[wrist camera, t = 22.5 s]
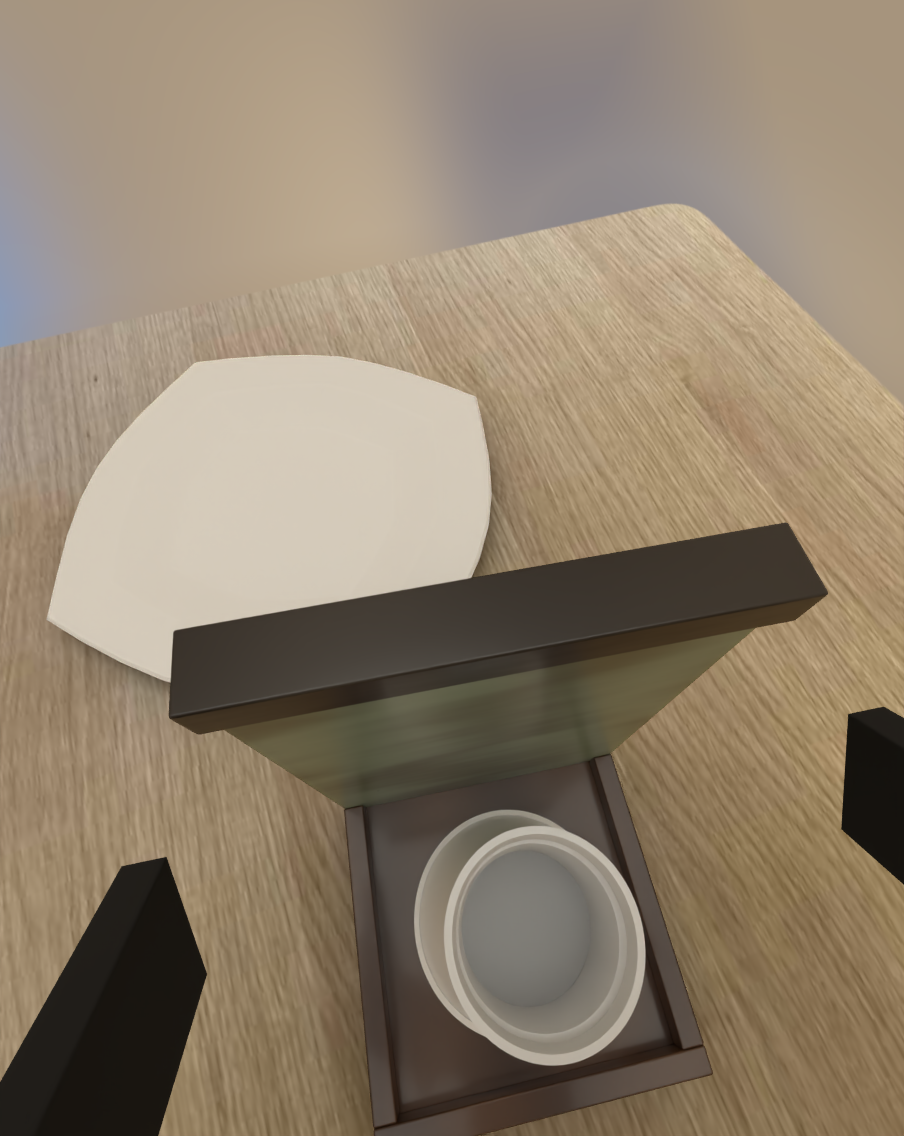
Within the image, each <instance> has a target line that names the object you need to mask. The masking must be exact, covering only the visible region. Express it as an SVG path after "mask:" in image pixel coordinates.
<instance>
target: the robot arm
mask: <svg viewBox="0 0 904 1136" xmlns="http://www.w3.org/2000/svg"><path fill="white" fill-rule="evenodd" d="M841 829H842V830H843V831H844V832H845V833H846V834H847V835H849V836H850V837H851V838H852V839H853V840H854V841H855V842H856V843H858V844H859V845H860V846H861V847H862V848H863V849H864V850H865V851H867V852H868V853H869V854H870V855H871V856H872V857H873V858H874V859H876V860H877V861H878V862H879V863H880V864H881V865H882V866H883V867H885V868H886V869H887V870H888V871H889V872H890V873H891V874H892V875H894V876H895V877H896V878H897V879H898V880H899V881H900V882H901V883H903V884H904V718H903V717H901V716H899V715H897V714H896V713H894V712H892V711H890V710H889V709H887V708H885V707H880V708H875V709H871V710H866V711H861V712H856V713H852V714H848V728H847V744H846V761H845V778H844V794H843V811H842V827H841ZM206 976H207V973H206V970H205V967H204V964H203V961H202V958H201V955H200V953H199V950H198V947H197V944H196V941H195V938H194V935H193V932H192V929H191V927H190V924H189V921H188V918H187V915H186V912H185V909H184V906H183V903H182V901H181V898H180V895H179V892H178V889H177V886H176V883H175V880H174V877H173V875H172V872H171V869H170V866H169V863H168V860H167V857H164V858H159V859H155V860H150V861H145V862H140V863H135V864H131V865H126V866H122V867H121V869H120V870H119V872H118V874H117V876H116V878H115V879H114V881H113V883H112V885H111V886H110V888H109V890H108V892H107V894H106V895H105V897H104V899H103V901H102V902H101V904H100V906H99V908H98V910H97V911H96V913H95V915H94V917H93V918H92V920H91V922H90V924H89V926H88V927H87V929H86V931H85V933H84V934H83V936H82V938H81V940H80V941H79V943H78V945H77V947H76V949H75V950H74V952H73V954H72V956H71V957H70V959H69V961H68V963H67V965H66V966H65V968H64V970H63V972H62V973H61V975H60V977H59V979H58V981H57V982H56V984H55V986H54V988H53V989H52V991H51V993H50V995H49V997H48V998H47V1000H46V1002H45V1004H44V1005H43V1007H42V1009H41V1011H40V1013H39V1014H38V1016H37V1018H36V1020H35V1021H34V1023H33V1025H32V1027H31V1028H30V1030H29V1032H28V1034H27V1036H26V1037H25V1039H24V1041H23V1043H22V1044H21V1046H20V1048H19V1050H18V1052H17V1053H16V1055H15V1057H14V1059H13V1060H12V1062H11V1064H10V1066H9V1068H8V1069H7V1071H6V1073H5V1075H4V1076H3V1078H2V1080H1V1082H0V1136H158V1134H159V1131H160V1128H161V1125H162V1121H163V1118H164V1115H165V1111H166V1108H167V1105H168V1101H169V1098H170V1095H171V1091H172V1088H173V1085H174V1082H175V1078H176V1075H177V1072H178V1068H179V1065H180V1062H181V1058H182V1055H183V1052H184V1048H185V1045H186V1042H187V1039H188V1035H189V1032H190V1029H191V1025H192V1022H193V1019H194V1015H195V1012H196V1009H197V1005H198V1002H199V999H200V995H201V992H202V989H203V986H204V982H205V979H206Z"/></svg>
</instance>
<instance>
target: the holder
mask: <svg viewBox="0 0 904 1136" xmlns="http://www.w3.org/2000/svg"><path fill="white" fill-rule="evenodd" d="M827 594H828V591H827V589H826V588H825V586H824V584H823V583H822V581H821V579H820V577H819V576H818V574H817V572H816V571H815V569H814V567H813V565H812V564H811V562H810V560H809V559H808V557H807V555H806V553H805V552H804V550H803V548H802V547H801V545H800V543H799V541H798V540H797V538H796V536H795V534H794V533H793V531H792V529H791V528H790V526H789V524H788V523H781V524H775V525H769V526H764V527H758V528H752V529H746V530H741V531H735V532H729V533H724V534H718V535H712V536H707V537H701V538H695V539H690V540H684V541H678V542H673V543H667V544H661V545H656V546H650V547H644V548H639V549H633V550H627V551H622V552H616V553H610V554H605V555H599V556H593V557H588V558H582V559H576V560H570V561H565V562H559V563H553V564H548V565H542V566H536V567H531V568H525V569H519V570H514V571H508V572H502V573H497V574H491V575H485V576H480V577H474V578H468V579H463V580H457V581H451V582H446V583H440V584H434V585H429V586H423V587H417V588H412V589H406V590H400V591H394V592H389V593H383V594H377V595H372V596H366V597H360V598H355V599H349V600H343V601H338V602H332V603H326V604H321V605H315V606H309V607H304V608H298V609H292V610H287V611H281V612H275V613H270V614H264V615H258V616H253V617H247V618H241V619H236V620H230V621H224V622H218V623H213V624H207V625H201V626H196V627H190V628H184V629H179V630H175V631H174V632H173V644H172V663H171V682H170V701H169V718H170V719H171V720H173V721H175V722H177V723H178V724H180V725H182V726H184V727H185V728H187V729H189V730H191V731H192V732H194V733H196V734H204V733H209V732H215V731H220V730H225V731H227V732H228V733H230V734H231V735H233V736H234V737H236V738H237V739H239V740H240V741H242V742H244V743H245V744H247V745H248V746H250V747H251V748H253V749H254V750H256V751H257V752H259V753H260V754H262V755H263V756H265V757H267V758H268V759H270V760H271V761H273V762H274V763H276V764H277V765H279V766H280V767H282V768H283V769H285V770H286V771H288V772H289V773H291V774H293V775H294V776H296V777H297V778H299V779H300V780H302V781H303V782H305V783H306V784H308V785H309V786H311V787H312V788H314V789H316V790H317V791H319V792H320V793H322V794H323V795H325V796H326V797H328V798H329V799H331V800H332V801H334V802H335V803H337V804H339V805H340V806H342V807H343V808H345V810H344V813H345V824H346V835H347V846H348V857H349V868H350V879H351V890H352V901H353V911H354V922H355V933H356V944H357V955H358V966H359V977H360V988H361V999H362V1010H363V1020H364V1031H365V1042H366V1053H367V1064H368V1075H369V1086H370V1097H371V1108H372V1119H373V1127H374V1128H375V1129H374V1136H478V1135H482V1134H486V1133H490V1132H493V1131H497V1130H501V1129H505V1128H509V1127H513V1126H517V1125H520V1124H524V1123H528V1122H532V1121H536V1120H540V1119H544V1118H547V1117H551V1116H555V1115H559V1114H563V1113H567V1112H571V1111H574V1110H578V1109H582V1108H586V1107H590V1106H594V1105H597V1104H601V1103H605V1102H609V1101H613V1100H617V1099H621V1098H624V1097H628V1096H632V1095H636V1094H640V1093H644V1092H648V1091H651V1090H655V1089H659V1088H663V1087H667V1086H671V1085H675V1084H678V1083H682V1082H686V1081H690V1080H694V1079H698V1078H702V1077H705V1076H709V1075H712V1074H713V1071H712V1068H711V1065H710V1062H709V1059H708V1056H707V1052H706V1049H705V1047H704V1046H703V1040H702V1037H701V1034H700V1031H699V1027H698V1024H697V1021H696V1018H695V1015H694V1012H693V1009H692V1006H691V1003H690V999H689V996H688V993H687V990H686V987H685V984H684V981H683V978H682V974H681V971H680V968H679V965H678V962H677V959H676V956H675V953H674V949H673V946H672V943H671V940H670V937H669V934H668V931H667V928H666V924H665V921H664V918H663V915H662V912H661V909H660V906H659V903H658V899H657V896H656V893H655V890H654V887H653V884H652V881H651V878H650V875H649V871H648V868H647V865H646V862H645V859H644V856H643V853H642V850H641V846H640V843H639V840H638V837H637V834H636V831H635V828H634V825H633V821H632V818H631V815H630V812H629V809H628V806H627V803H626V800H625V796H624V793H623V790H622V787H621V784H620V781H619V778H618V775H617V772H616V768H615V765H614V762H613V759H612V756H611V754H610V753H611V752H613V751H614V750H615V749H616V748H617V747H618V746H620V745H621V744H622V743H623V742H624V741H625V740H626V739H628V738H629V737H630V736H631V735H632V734H633V733H635V732H636V731H637V730H638V729H639V728H640V727H642V726H643V725H644V724H645V723H646V722H647V721H648V720H650V719H651V718H652V717H653V716H654V715H655V714H657V713H658V712H659V711H660V710H661V709H662V708H664V707H665V706H666V705H667V704H668V703H669V702H670V701H672V700H673V699H674V698H675V697H676V696H677V695H679V694H680V693H681V692H682V691H683V690H684V689H686V688H687V687H688V686H689V685H690V684H691V683H693V682H694V681H695V680H696V679H697V678H698V677H699V676H701V675H702V674H703V673H704V672H705V671H706V670H708V669H709V668H710V667H711V666H712V665H713V664H715V663H716V662H717V661H718V660H719V659H720V658H721V657H723V656H724V655H725V654H726V653H727V652H728V651H730V650H731V649H732V648H733V647H734V646H735V645H737V644H738V643H739V642H740V641H741V640H742V639H743V638H745V637H746V636H747V635H748V634H749V633H750V632H752V631H753V630H754V629H755V628H757V627H762V626H768V625H773V624H778V623H783V622H788V621H794V620H796V619H797V618H798V617H800V616H801V615H802V614H803V613H805V612H806V611H807V610H809V609H810V608H811V607H812V606H814V605H815V604H816V603H817V602H819V601H820V600H821V599H823V598H824V597H825V596H826V595H827ZM497 810H519V811H525V812H530V813H533V814H536V815H539V816H542V817H544V818H546V819H548V820H550V821H552V822H554V823H555V824H557V825H559V826H560V827H562V828H563V829H564V830H566V831H567V832H570V833H572V834H574V835H577V836H579V837H580V838H582V839H584V840H586V841H587V842H589V843H590V844H592V845H593V846H594V847H596V848H597V849H598V850H599V851H600V852H601V853H603V854H604V855H605V856H606V857H607V858H608V859H609V860H610V862H611V863H612V864H613V865H614V866H615V868H616V869H617V870H618V872H619V873H620V874H621V876H622V877H623V879H624V880H625V882H626V884H627V886H628V887H629V889H630V891H631V893H632V896H633V898H634V900H635V903H636V905H637V908H638V911H639V914H640V918H641V922H642V927H643V932H644V939H645V971H644V978H643V984H642V988H641V992H640V995H639V998H638V1001H637V1004H636V1006H635V1008H634V1011H633V1013H632V1015H631V1017H630V1018H629V1020H628V1022H627V1023H626V1025H625V1026H624V1028H623V1029H622V1030H621V1032H620V1033H619V1034H618V1035H617V1036H616V1037H615V1039H614V1040H613V1041H612V1042H610V1043H609V1044H608V1045H607V1046H606V1047H605V1048H603V1049H602V1050H600V1051H599V1052H597V1053H596V1054H594V1055H592V1056H590V1057H588V1058H586V1059H584V1060H581V1061H578V1062H575V1063H571V1064H566V1065H553V1066H551V1065H540V1064H534V1063H530V1062H527V1061H524V1060H521V1059H519V1058H516V1057H514V1056H512V1055H510V1054H508V1053H506V1052H505V1051H503V1050H502V1049H500V1048H499V1047H497V1046H496V1045H495V1044H493V1043H492V1042H491V1041H490V1040H489V1039H488V1038H486V1037H485V1036H483V1035H481V1034H479V1033H477V1032H475V1031H473V1030H471V1029H470V1028H468V1027H467V1026H465V1025H464V1024H463V1023H461V1022H460V1021H459V1020H458V1019H457V1018H455V1017H454V1016H453V1015H452V1014H451V1013H450V1012H449V1011H448V1010H447V1008H446V1007H445V1006H444V1005H443V1004H442V1002H441V1001H440V1000H439V998H438V997H437V995H436V994H435V992H434V991H433V989H432V987H431V985H430V984H429V981H428V979H427V977H426V975H425V973H424V970H423V968H422V965H421V962H420V958H419V955H418V950H417V946H416V939H415V930H414V911H415V901H416V895H417V891H418V886H419V883H420V880H421V877H422V874H423V872H424V869H425V867H426V865H427V863H428V861H429V859H430V857H431V856H432V854H433V852H434V851H435V849H436V848H437V847H438V845H439V844H440V843H441V842H442V840H443V839H444V838H445V837H446V836H447V835H448V834H449V833H450V832H452V831H453V830H454V829H455V828H456V827H458V826H459V825H461V824H462V823H464V822H465V821H467V820H469V819H471V818H473V817H475V816H478V815H480V814H483V813H487V812H491V811H497ZM623 919H624V918H623ZM626 959H627V958H626ZM609 1009H610V1008H609ZM593 1027H594V1026H593Z"/></svg>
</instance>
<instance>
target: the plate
mask: <svg viewBox="0 0 904 1136" xmlns="http://www.w3.org/2000/svg"><path fill="white" fill-rule="evenodd" d="M491 495H492V491H491V476H490V462H489V455H488V450H487V444H486V439H485V433H484V428H483V423H482V419H481V415H480V410H479V406H478V402H477V397H475V396H473V395H470V394H467V393H465V392H462V391H460V390H457V389H454V388H452V387H449V386H447V385H444V384H441V383H438V382H435V381H432V380H429V379H426V378H423V377H420V376H417V375H415V374H412V373H409V372H405V371H402V370H398V369H394V368H391V367H387V366H383V365H380V364H376V363H372V362H367V361H362V360H356V359H351V358H346V357H341V356H320V355H279V356H259V357H245V358H231V359H222V360H212V361H203V362H195V363H194V364H193V365H192V366H191V367H190V368H189V369H188V370H186V371H185V372H184V373H183V374H182V375H181V376H180V377H179V378H178V379H177V380H175V381H174V382H173V383H172V384H171V385H170V386H169V387H168V388H167V389H166V390H165V391H164V392H163V393H162V394H161V395H160V396H158V397H157V398H156V399H155V400H154V401H153V402H152V403H151V404H150V405H149V406H148V407H147V408H146V409H145V410H144V411H143V412H142V413H141V414H140V415H139V416H138V417H137V418H136V419H135V421H134V422H133V423H132V424H131V425H130V426H129V427H128V428H127V429H126V431H125V432H124V433H123V434H122V435H121V436H120V437H119V438H118V439H117V441H116V442H115V443H114V445H113V446H112V447H111V449H110V450H109V452H108V453H107V454H106V456H105V457H104V458H103V460H102V461H101V463H100V464H99V465H98V467H97V468H96V470H95V472H94V474H93V476H92V478H91V480H90V482H89V483H88V485H87V487H86V489H85V491H84V493H83V495H82V497H81V499H80V502H79V504H78V507H77V510H76V512H75V515H74V518H73V521H72V523H71V526H70V529H69V531H68V534H67V538H66V542H65V545H64V549H63V553H62V557H61V561H60V565H59V568H58V572H57V576H56V580H55V585H54V589H53V594H52V598H51V602H50V607H49V611H48V616H47V620H48V621H50V622H51V623H53V624H54V625H56V626H58V627H59V628H61V629H62V630H64V631H66V632H67V633H69V634H70V635H72V636H74V637H75V638H77V639H78V640H80V641H82V642H84V643H86V644H87V645H89V646H91V647H93V648H95V649H97V650H99V651H101V652H102V653H104V654H106V655H108V656H110V657H112V658H114V659H115V660H117V661H119V662H121V663H123V664H126V665H128V666H130V667H133V668H135V669H137V670H140V671H142V672H144V673H147V674H149V675H151V676H154V677H156V678H158V679H161V680H163V681H167V682H171V663H172V644H173V632H174V631H175V630H179V629H184V628H190V627H196V626H201V625H207V624H213V623H218V622H224V621H230V620H236V619H241V618H247V617H253V616H258V615H264V614H270V613H275V612H281V611H287V610H292V609H298V608H304V607H309V606H315V605H321V604H326V603H332V602H338V601H343V600H349V599H355V598H360V597H366V596H372V595H377V594H383V593H389V592H394V591H400V590H406V589H412V588H417V587H423V586H429V585H434V584H440V583H446V582H451V581H457V580H463V579H468V578H471V577H472V575H473V573H474V570H475V568H476V566H477V563H478V561H479V559H480V556H481V552H482V548H483V544H484V541H485V537H486V533H487V530H488V526H489V517H490V506H491Z"/></svg>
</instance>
